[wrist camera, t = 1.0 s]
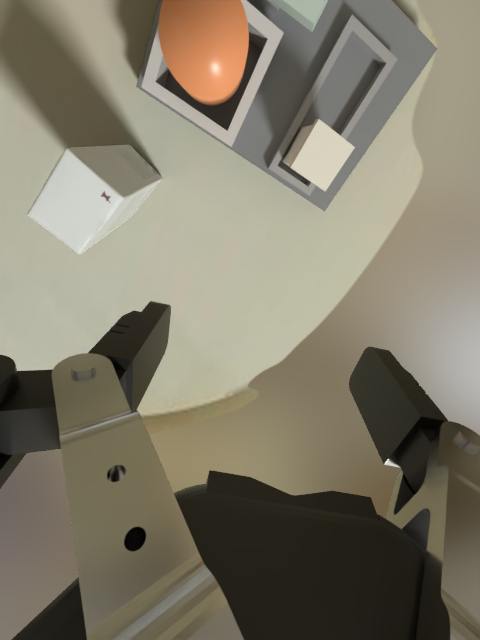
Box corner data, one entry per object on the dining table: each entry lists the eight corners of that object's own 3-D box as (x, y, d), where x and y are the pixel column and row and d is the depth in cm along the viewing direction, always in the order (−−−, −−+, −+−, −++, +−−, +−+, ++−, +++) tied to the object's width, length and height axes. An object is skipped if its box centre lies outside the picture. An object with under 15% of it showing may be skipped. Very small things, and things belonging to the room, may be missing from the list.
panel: (144, 91, 24) (124, 79, 19) (213, -154, 17) (206, -259, 13) (318, 206, 30) (333, 218, 25) (418, 56, 23) (464, 36, 19)
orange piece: (164, 78, 19) (146, 61, 15) (191, -13, 17) (179, -62, 13) (224, 120, 21) (223, 115, 17) (258, 42, 19) (265, 14, 14)
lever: (279, 162, 25) (290, 167, 20) (300, 123, 23) (318, 118, 19) (307, 182, 26) (325, 191, 21) (330, 145, 24) (354, 147, 20)
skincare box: (128, 142, 26) (66, 143, 16) (163, 178, 28) (126, 198, 18) (95, 189, 28) (22, 214, 18) (130, 219, 30) (80, 258, 20)
